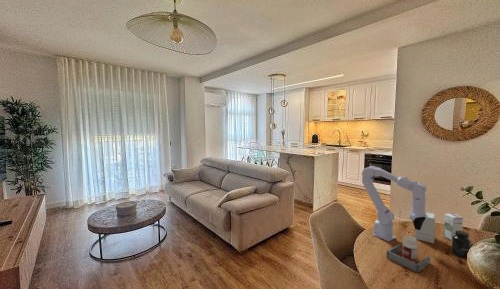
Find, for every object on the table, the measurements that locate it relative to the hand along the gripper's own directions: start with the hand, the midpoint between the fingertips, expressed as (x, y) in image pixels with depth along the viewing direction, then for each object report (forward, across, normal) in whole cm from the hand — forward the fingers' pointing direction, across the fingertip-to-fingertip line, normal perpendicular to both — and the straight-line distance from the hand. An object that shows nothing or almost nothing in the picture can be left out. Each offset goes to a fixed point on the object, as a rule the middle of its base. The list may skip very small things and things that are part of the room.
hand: (417, 229), depth 117 cm
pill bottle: (+11, -16, -3) cm, 19 cm away
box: (+10, -17, -3) cm, 20 cm away
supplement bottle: (+11, +11, -15) cm, 21 cm away
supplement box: (+11, +15, +2) cm, 19 cm away
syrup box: (+11, +28, -7) cm, 31 cm away
